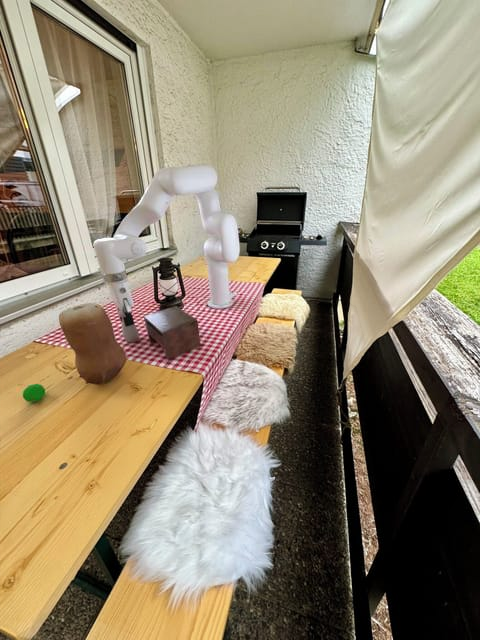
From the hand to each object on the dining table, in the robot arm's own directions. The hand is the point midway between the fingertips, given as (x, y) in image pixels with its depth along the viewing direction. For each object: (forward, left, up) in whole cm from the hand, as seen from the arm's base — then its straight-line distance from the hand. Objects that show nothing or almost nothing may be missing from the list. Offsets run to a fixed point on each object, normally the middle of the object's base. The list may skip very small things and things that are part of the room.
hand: (127, 322), depth 97 cm
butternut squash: (+14, +17, -8) cm, 23 cm away
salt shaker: (0, 0, -8) cm, 8 cm away
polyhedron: (+32, +13, -8) cm, 35 cm away
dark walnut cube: (-11, +14, -8) cm, 19 cm away
